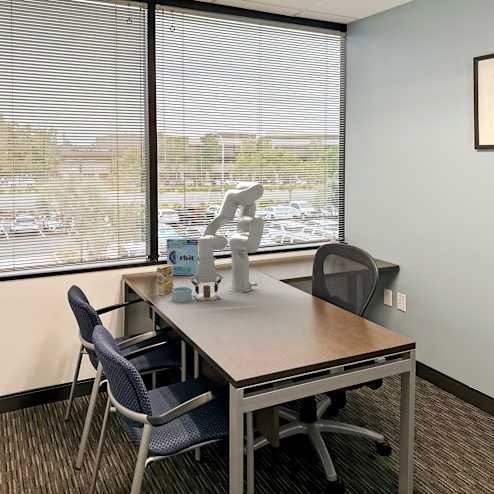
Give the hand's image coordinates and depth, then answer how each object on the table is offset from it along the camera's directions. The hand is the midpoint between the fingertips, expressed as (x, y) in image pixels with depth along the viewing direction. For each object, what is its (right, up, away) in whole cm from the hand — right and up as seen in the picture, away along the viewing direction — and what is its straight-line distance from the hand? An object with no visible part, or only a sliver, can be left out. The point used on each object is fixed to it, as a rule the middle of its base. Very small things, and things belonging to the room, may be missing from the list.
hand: (206, 292), depth 278 cm
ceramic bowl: (-13, -4, -2) cm, 13 cm away
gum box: (-20, +6, +62) cm, 65 cm away
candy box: (-23, -2, +12) cm, 26 cm away
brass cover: (0, -3, +1) cm, 3 cm away
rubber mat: (0, -3, +1) cm, 3 cm away
